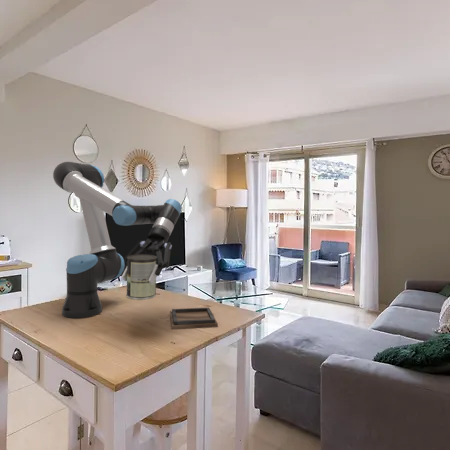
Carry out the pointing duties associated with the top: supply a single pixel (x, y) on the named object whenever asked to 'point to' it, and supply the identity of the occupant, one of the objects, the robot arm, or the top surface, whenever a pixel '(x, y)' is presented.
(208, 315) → the walnut board
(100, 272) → the robot arm
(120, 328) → the top surface
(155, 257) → the coffee can
